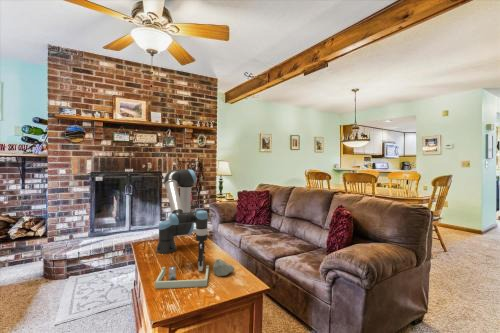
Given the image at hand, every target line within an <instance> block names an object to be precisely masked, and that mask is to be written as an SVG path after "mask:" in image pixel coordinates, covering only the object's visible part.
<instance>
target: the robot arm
mask: <svg viewBox="0 0 500 333" xmlns="http://www.w3.org/2000/svg"><path fill="white" fill-rule="evenodd" d="M196 183H197V175H196V173H195V171H194V170H193V169H189V168H188V169H171V170H170V171H168V172H167V173H166V174H165V177H164V179H163V185H164V188H165V189H166V193H167V197H168V202H169V207H170V212H171V213H170V214H169V218H168V219H166V220H163V221H160V222H159V225H158V241H157V242H158V243H157V245H156V248H155V249H156V250H155V251H156V253H158V254H162V255H163V254H170V253H174V252H176V251H177V245H176V242H175V237H179V236H186V235H191V234H192V233H193V231H195V241H196V242H198V244H197V246H198V248H197V249H198V256H199V259H198V258H197V262H198V261H199V269H198V268H197V270H198V272H203V271H204V270H203V256H205V254H206V252H205V245H206V244H205V243H206V241H207V240H208V218H209V216H208V215H209V214H208V212H207V210H193V211H191V201H192V200H191V198H192V188H193V187H194V185H195V184H196ZM178 187H179V189H178ZM194 223H195V225H194ZM194 227H195V229H194Z"/></svg>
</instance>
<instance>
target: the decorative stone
mask: <svg viewBox="0 0 500 333" xmlns="http://www.w3.org/2000/svg"><path fill="white" fill-rule="evenodd" d="M212 270H213V273H214V275H216V276H217V277H224V276H227V275H229V274H232V273H233V272H234V271H235V268H234V266H233V265H231V264H229V263H228V262H226V261H224V260H222V259H220V258H219V259H215V261H214V264H213V266H212Z"/></svg>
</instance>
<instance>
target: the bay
mask: <svg viewBox="0 0 500 333" xmlns="http://www.w3.org/2000/svg"><path fill="white" fill-rule="evenodd" d="M209 273H210V265H207V264H205V277H204V279H203V278H201V279H184V280H183V279H181V280H179V279H178V280H172V281H170V280H162V279H163V278H164V276H165V275H166V266H161V271H160V272H159V274H158V276H157V278H156V280H155V281H154V289H155V290H156V289H177V288H178V289H179V288H181V289H182V288H198V287H199V288H200V287H201V288H202V287H208V279H209Z"/></svg>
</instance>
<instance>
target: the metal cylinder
mask: <svg viewBox="0 0 500 333" xmlns="http://www.w3.org/2000/svg"><path fill="white" fill-rule="evenodd" d="M176 274H177V267H176V265H170V266H169V267H168V281H176V279H177V278H176V276H177V275H176Z"/></svg>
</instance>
